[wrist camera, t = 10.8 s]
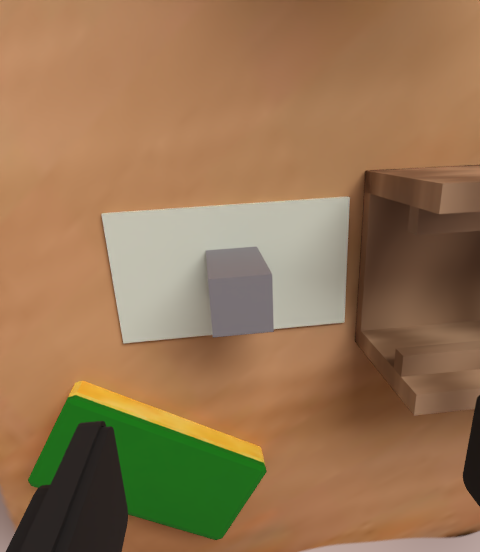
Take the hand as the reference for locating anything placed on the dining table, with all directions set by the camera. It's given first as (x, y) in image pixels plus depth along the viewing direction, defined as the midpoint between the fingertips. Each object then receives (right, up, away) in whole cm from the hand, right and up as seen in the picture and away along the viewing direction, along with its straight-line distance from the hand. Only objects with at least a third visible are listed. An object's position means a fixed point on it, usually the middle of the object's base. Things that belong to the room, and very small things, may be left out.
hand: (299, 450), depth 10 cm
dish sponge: (-8, -8, +18) cm, 21 cm away
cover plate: (-2, +5, +14) cm, 15 cm away
